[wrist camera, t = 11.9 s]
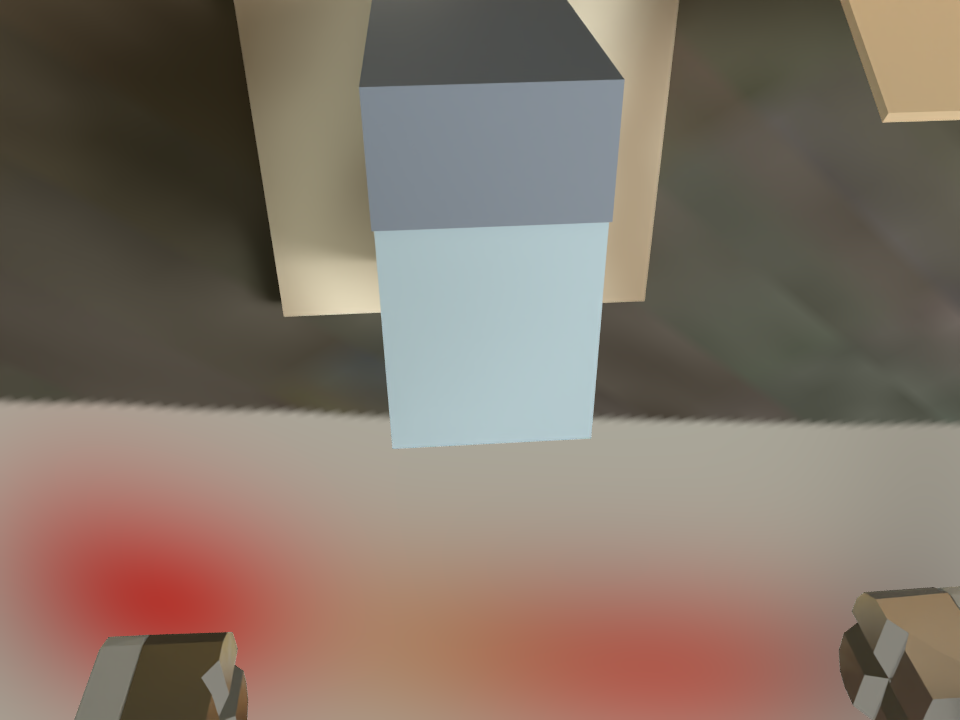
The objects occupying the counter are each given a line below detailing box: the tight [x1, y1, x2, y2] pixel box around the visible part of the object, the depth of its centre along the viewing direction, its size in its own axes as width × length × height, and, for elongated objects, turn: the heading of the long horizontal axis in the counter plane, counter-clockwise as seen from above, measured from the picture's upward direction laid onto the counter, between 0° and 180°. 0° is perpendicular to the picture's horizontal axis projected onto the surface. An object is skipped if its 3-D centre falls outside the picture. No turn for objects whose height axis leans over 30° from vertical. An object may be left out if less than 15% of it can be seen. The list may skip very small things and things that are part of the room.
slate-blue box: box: [359, 0, 625, 449], centre depth 23 cm, size 5×9×10 cm, turn 1°
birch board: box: [234, 0, 679, 317], centre depth 28 cm, size 13×13×1 cm
